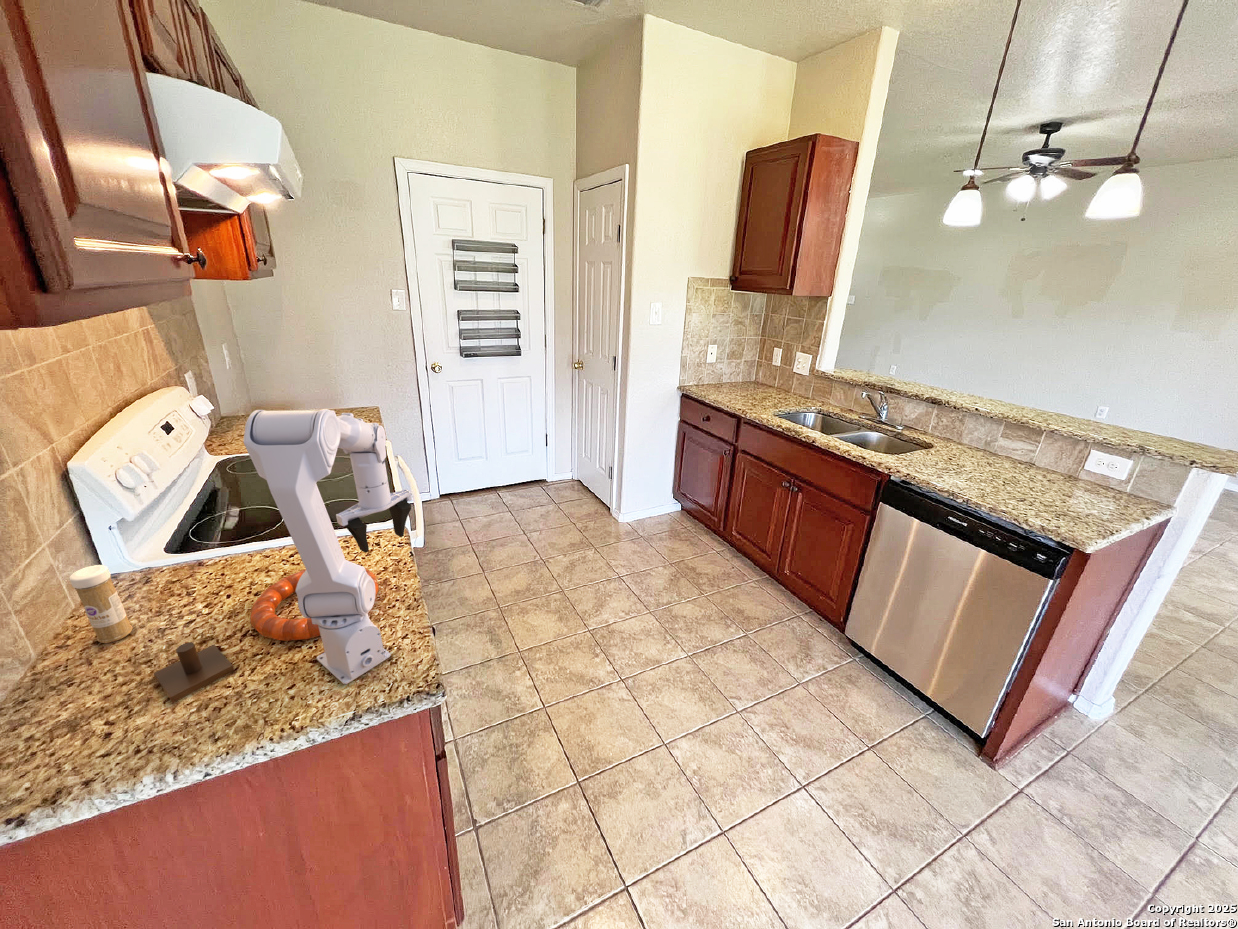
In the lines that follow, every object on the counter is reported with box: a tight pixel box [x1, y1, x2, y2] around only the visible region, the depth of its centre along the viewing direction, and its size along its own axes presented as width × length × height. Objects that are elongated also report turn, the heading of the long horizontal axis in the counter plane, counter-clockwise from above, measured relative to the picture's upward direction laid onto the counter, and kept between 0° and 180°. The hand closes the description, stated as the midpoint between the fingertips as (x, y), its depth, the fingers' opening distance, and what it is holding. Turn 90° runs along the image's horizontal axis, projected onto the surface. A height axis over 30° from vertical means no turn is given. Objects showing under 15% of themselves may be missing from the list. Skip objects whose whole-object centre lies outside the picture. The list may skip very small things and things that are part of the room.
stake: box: [153, 641, 235, 704], centre depth 78 cm, size 8×8×6 cm
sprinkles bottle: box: [68, 564, 134, 644], centre depth 84 cm, size 5×5×13 cm
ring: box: [249, 567, 380, 642], centre depth 95 cm, size 21×21×4 cm
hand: (382, 542), depth 100 cm, fingers open, 7 cm apart
